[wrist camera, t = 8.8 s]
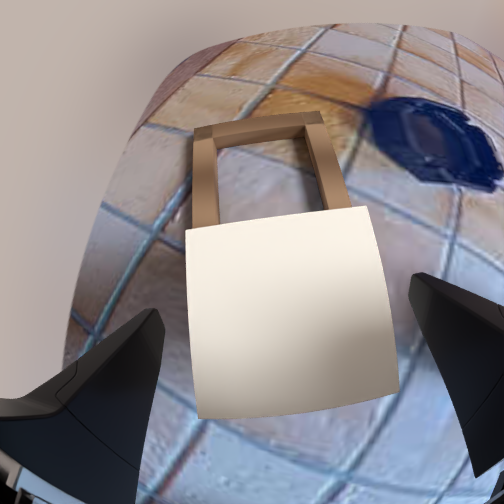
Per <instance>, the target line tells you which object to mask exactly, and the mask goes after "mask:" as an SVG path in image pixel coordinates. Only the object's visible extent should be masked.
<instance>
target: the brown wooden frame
mask: <svg viewBox="0 0 504 504" xmlns="http://www.w3.org/2000/svg"><path fill="white" fill-rule="evenodd" d="M300 137H305V140H306V143H307V147H308V150H309V154H310V157H311V161H312V164H313V168H314V172H315V176H316V179H317V183H318V187H319V191H320V195H321V199H322V203H323V208H324V210H333V209H342V208H351V207H352V206H351V202H350V199H349V195H348V192H347V189H346V185H345V182H344V179H343V176H342V173H341V169H340V166H339V163H338V160H337V157H336V154H335V151H334V149H333V146H332V143H331V140H330V137H329V135H328V132H327V129H326V127H325V124H324V121H323V119H322V116H321V114H320V111H313V112H300V113H289V114H279V115H271V116H263V117H256V118H249V119H242V120H236V121H230V122H225V123H219V124H214V125H209V126H204V127H200V128H195V129H194V142H193V180H192V229H195V228H201V227H208V226H214V225H220V214H219V195H218V173H217V149H221V148H227V147H233V146H239V145H245V144H251V143H258V142H266V141H273V140H282V139H291V138H300Z"/></svg>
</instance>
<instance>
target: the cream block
mask: <svg viewBox="0 0 504 504" xmlns="http://www.w3.org/2000/svg"><path fill="white" fill-rule="evenodd" d="M186 279H187V302H188V320H189V335H190V348H191V359H192V370H193V380H194V389H195V398H196V406H197V414H198V419H241V418H259V417H272V416H282V415H291V414H299V413H306V412H313V411H319V410H325V409H331V408H336V407H341V406H346V405H351V404H355V403H360V402H364V401H368V400H372V399H376V398H380V397H384V396H387V395H391V394H394V393H397V392H400V389H399V374H398V363H397V353H396V344H395V336H394V329H393V322H392V316H391V310H390V304H389V298H388V293H387V287H386V282H385V277H384V273H383V268H382V264H381V259H380V255H379V251H378V247H377V243H376V239H375V235H374V231H373V227H372V224H371V220H370V217H369V213H368V210H367V206H360V207H351V208H342V209H333V210H324V211H316V212H308V213H300V214H292V215H284V216H277V217H269V218H262V219H255V220H248V221H241V222H234V223H227V224H221V225H214V226H208V227H201V228H195V229H189V230H186Z"/></svg>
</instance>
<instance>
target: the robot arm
mask: <svg viewBox="0 0 504 504" xmlns="http://www.w3.org/2000/svg"><path fill="white" fill-rule="evenodd" d="M408 296H409V301H410V303H411V306H412V308H413V311H414V313H415V316H416V318H417V321H418V324H419V326H420V329H421V331H422V334H423V336H424V338H425V340H426V342H427V344H428V347H429V349H430V351H431V353H432V355H433V357H434V360H435V362H436V364H437V366H438V369H439V371H440V373H441V375H442V378H443V380H444V383H445V385H446V388H447V390H448V393H449V395H450V398H451V400H452V403H453V406H454V408H455V411H456V414H457V417H458V420H459V423H460V426H461V429H462V432H463V435H464V439H465V442H466V445H467V449H468V452H469V456H470V460H471V464H472V468H473V472H474V476H475V478H478V477H479V476H481V475H482V474H484V473H485V472H487V471H488V470H490V469H491V468H493V467H494V466H496V465H497V464H498V463H500V462H501V461H503V460H504V306H501V305H499V304H498V305H497V303H495V302H492V301H490V300H488V299H486V298H483V297H481V296H479V295H476V294H474V293H472V292H469V291H467V290H465V289H462V288H460V287H458V286H455V285H453V284H450V283H448V282H446V281H443V280H441V279H438V278H436V277H433V276H431V275H428V274H426V273H423V272H420V273H415V274H413V275H412V277H411V282H410V288H409V294H408ZM164 337H165V327H164V324H163V322H162V319H161V317H160V314H159V312H158V310H157V309H155V308H150V309H145V310H143V311H142V312H140V313H139V314H138V315H136V316H135V317H134V318H132V319H131V320H130V321H128V322H127V323H126V324H124V325H123V326H121V327H120V328H119V329H117V330H116V331H115V332H113V333H112V334H111V335H109V336H108V337H107V338H105V339H104V340H103V341H101V342H100V343H99V344H97V345H96V346H95V347H93V348H92V349H91V350H89V351H88V352H87V353H85V354H84V355H83V356H82V357H80V358H79V359H78V361H77V360H76V361H75V362H74V363H72V364H71V365H70V366H68V367H67V368H66V369H64V370H63V371H61V372H60V373H59V374H57V375H56V376H54V377H53V378H51V379H50V380H48V381H47V382H45V383H44V384H42V385H41V386H39V387H38V388H36V389H35V390H33V391H32V392H30V393H29V394H27V395H25V396H23V397H21V398H17V399H3V398H0V504H135V499H136V492H137V485H138V478H139V470H140V465H141V459H142V453H143V447H144V442H145V437H146V431H147V426H148V421H149V416H150V412H151V407H152V402H153V398H154V393H155V389H156V385H157V380H158V376H159V372H160V367H161V360H162V352H163V344H164ZM484 504H504V470H503V471H502V472H501V473H500V475H499V478H498V480H497V483H496V485H495V488H494V490H493V493H492V495H491V497H490V500H488V501H487V502H485V503H484Z"/></svg>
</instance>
